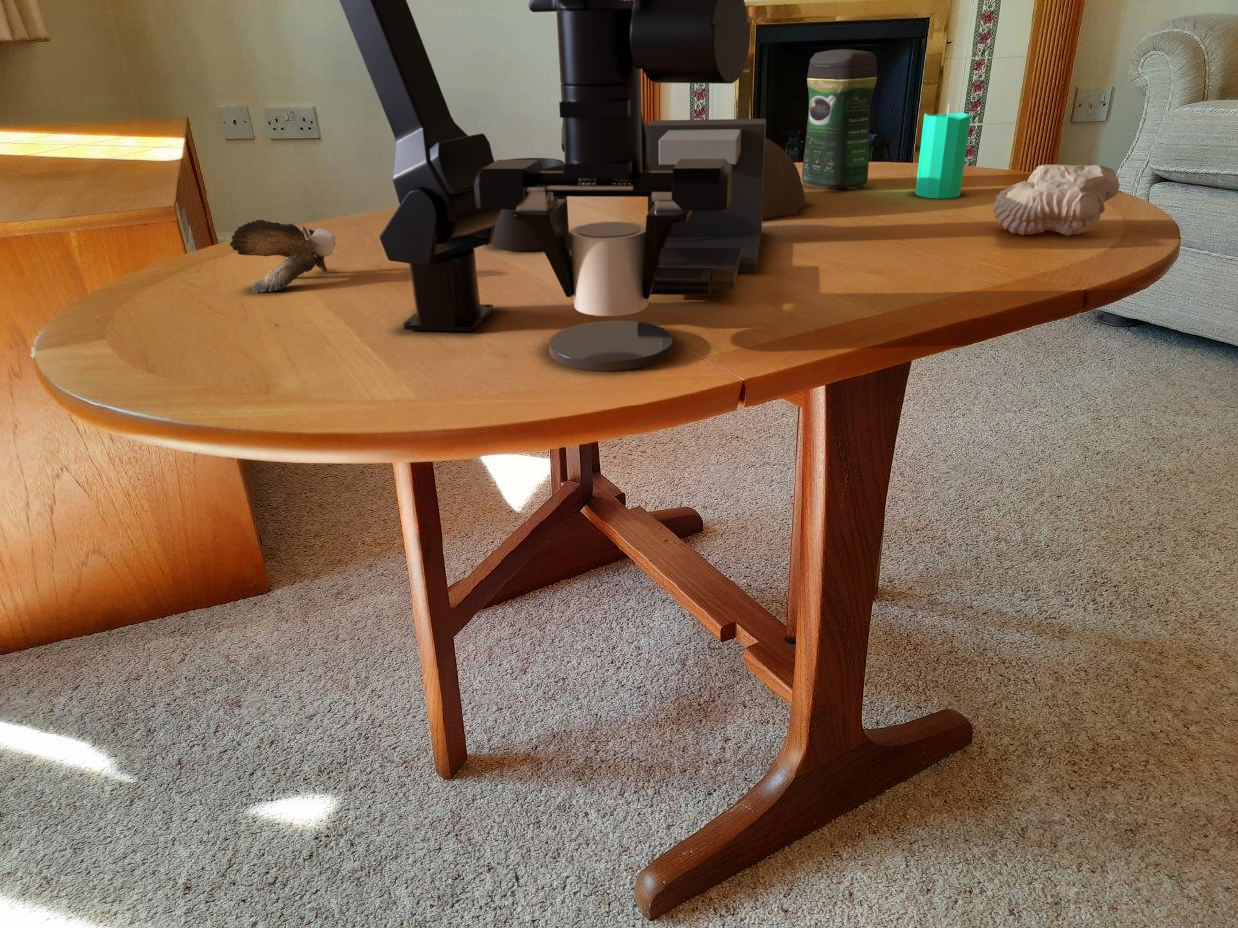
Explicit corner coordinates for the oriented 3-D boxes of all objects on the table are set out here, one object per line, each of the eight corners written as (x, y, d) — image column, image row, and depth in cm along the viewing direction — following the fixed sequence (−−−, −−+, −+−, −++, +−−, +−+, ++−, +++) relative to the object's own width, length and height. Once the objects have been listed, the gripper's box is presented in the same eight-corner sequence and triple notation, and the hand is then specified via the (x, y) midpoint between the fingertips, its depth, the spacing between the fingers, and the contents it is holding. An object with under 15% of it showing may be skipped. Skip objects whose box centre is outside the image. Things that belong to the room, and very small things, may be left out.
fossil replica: (976, 229, 106) (1024, 256, 98) (985, 158, 101) (1036, 179, 93) (1068, 214, 107) (1124, 239, 99) (1081, 143, 103) (1140, 162, 95)
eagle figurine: (291, 255, 99) (219, 258, 92) (313, 203, 96) (239, 201, 88) (332, 300, 98) (261, 307, 90) (355, 248, 94) (283, 251, 86)
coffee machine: (755, 272, 91) (760, 139, 85) (630, 270, 93) (627, 140, 88) (761, 234, 106) (766, 118, 101) (654, 233, 109) (652, 120, 103)
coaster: (664, 373, 67) (664, 363, 66) (535, 369, 69) (535, 359, 68) (679, 330, 76) (679, 321, 75) (565, 327, 77) (565, 318, 77)
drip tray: (729, 306, 77) (730, 282, 76) (616, 303, 78) (615, 280, 78) (741, 255, 92) (742, 234, 91) (646, 254, 94) (646, 234, 93)
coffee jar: (876, 187, 131) (889, 48, 123) (835, 193, 128) (846, 51, 119) (832, 178, 139) (841, 47, 130) (792, 184, 135) (799, 50, 127)
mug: (514, 261, 99) (506, 176, 95) (480, 240, 108) (472, 162, 104) (591, 249, 102) (587, 168, 98) (551, 230, 112) (546, 155, 108)
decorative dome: (820, 196, 126) (825, 121, 121) (782, 226, 110) (786, 141, 105) (692, 190, 133) (692, 119, 129) (639, 217, 117) (637, 137, 113)
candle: (915, 197, 123) (925, 105, 117) (915, 190, 128) (925, 100, 123) (960, 198, 121) (974, 104, 116) (959, 191, 126) (971, 100, 121)
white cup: (642, 317, 68) (640, 238, 66) (566, 315, 69) (561, 237, 67) (653, 295, 74) (652, 221, 71) (582, 293, 75) (579, 220, 72)
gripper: (739, 72, 68) (733, 272, 76) (507, 77, 72) (522, 268, 79) (729, 83, 59) (723, 311, 66) (461, 88, 62) (483, 305, 69)
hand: (608, 296), depth 70 cm, fingers closed on white cup, 6 cm apart
